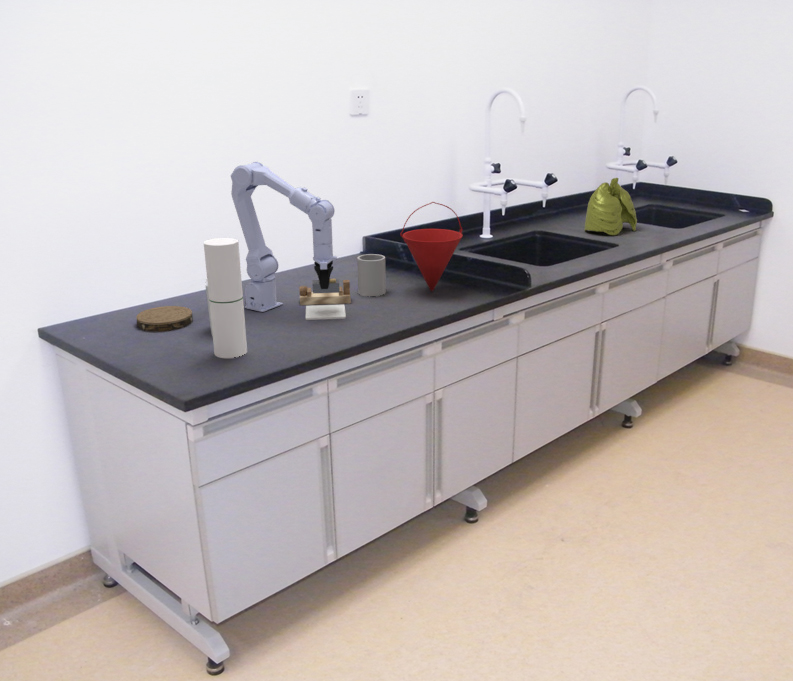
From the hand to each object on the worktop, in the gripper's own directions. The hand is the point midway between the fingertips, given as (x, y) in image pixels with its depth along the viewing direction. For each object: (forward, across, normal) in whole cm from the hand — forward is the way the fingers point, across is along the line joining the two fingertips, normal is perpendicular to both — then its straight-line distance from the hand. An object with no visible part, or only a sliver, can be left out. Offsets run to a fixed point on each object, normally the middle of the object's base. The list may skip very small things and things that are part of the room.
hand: (324, 286), depth 229 cm
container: (+9, -30, +25) cm, 41 cm away
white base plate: (+8, 0, 0) cm, 8 cm away
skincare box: (+9, -12, +30) cm, 34 cm away
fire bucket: (+9, +19, -36) cm, 41 cm away
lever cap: (+1, 0, 0) cm, 1 cm away
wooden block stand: (+8, +12, 0) cm, 15 cm away
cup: (+9, +20, -16) cm, 27 cm away
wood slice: (+9, -4, +47) cm, 48 cm away
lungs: (+9, +102, -128) cm, 163 cm away
